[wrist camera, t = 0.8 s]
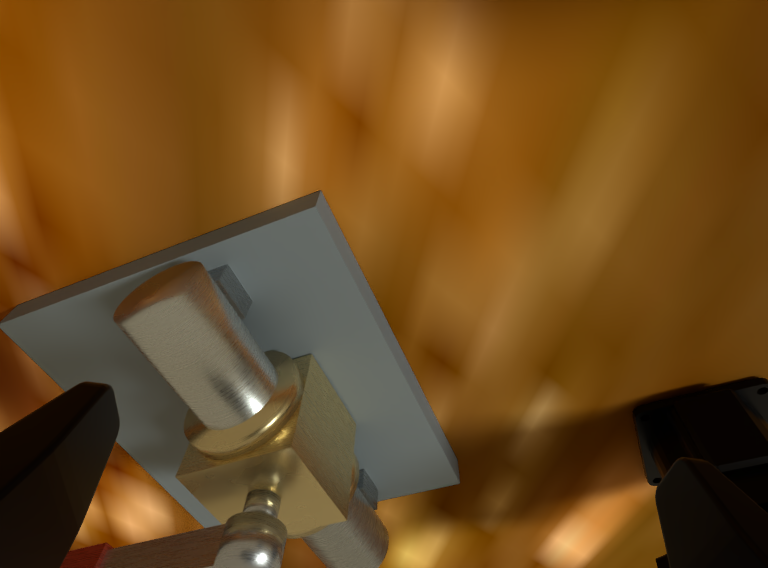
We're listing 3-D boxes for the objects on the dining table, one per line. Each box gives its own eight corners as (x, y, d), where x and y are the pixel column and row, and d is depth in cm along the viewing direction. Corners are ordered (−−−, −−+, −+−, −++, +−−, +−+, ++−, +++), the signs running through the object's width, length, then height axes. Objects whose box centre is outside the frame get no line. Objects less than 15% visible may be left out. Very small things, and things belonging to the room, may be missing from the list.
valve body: (402, 494, 30) (402, 618, 24) (320, 512, 31) (303, 634, 25) (238, 233, 21) (180, 340, 15) (131, 273, 22) (42, 385, 16)
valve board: (457, 460, 30) (459, 483, 29) (221, 514, 34) (214, 537, 32) (320, 190, 21) (315, 206, 20) (17, 305, 25) (-4, 324, 23)
